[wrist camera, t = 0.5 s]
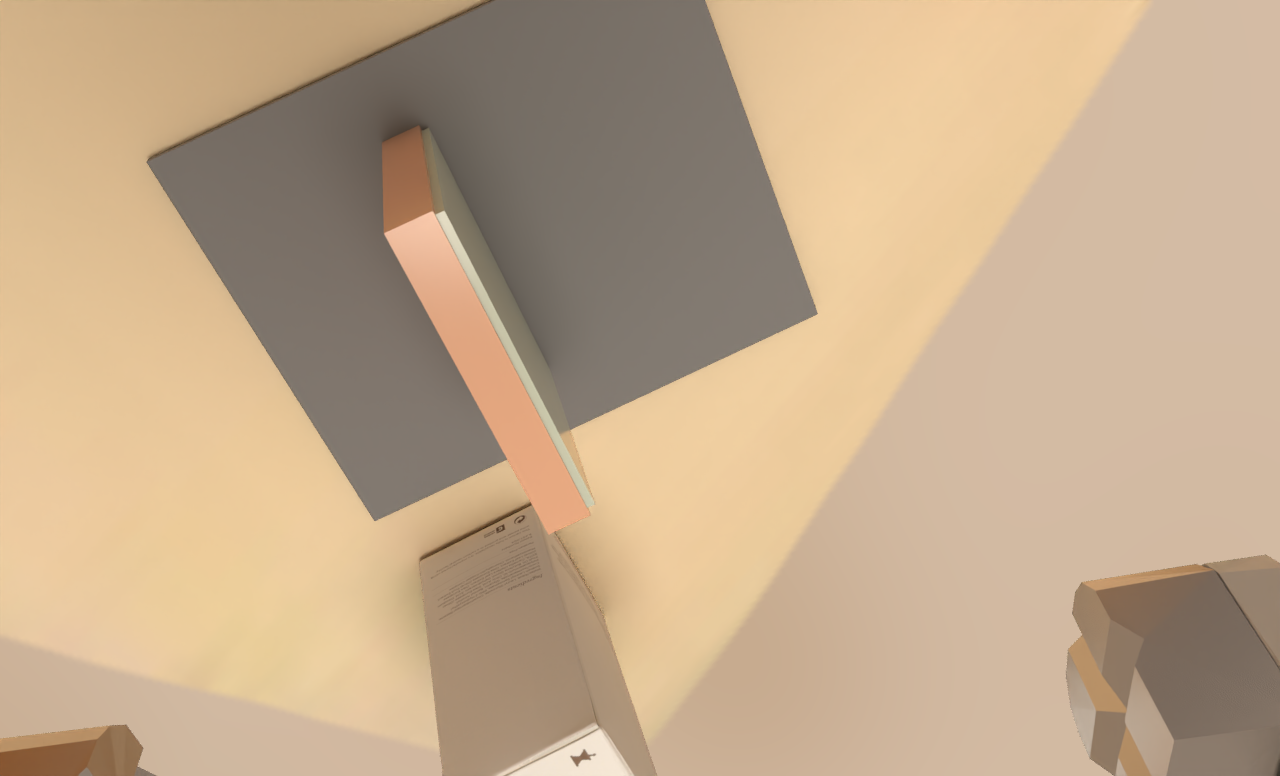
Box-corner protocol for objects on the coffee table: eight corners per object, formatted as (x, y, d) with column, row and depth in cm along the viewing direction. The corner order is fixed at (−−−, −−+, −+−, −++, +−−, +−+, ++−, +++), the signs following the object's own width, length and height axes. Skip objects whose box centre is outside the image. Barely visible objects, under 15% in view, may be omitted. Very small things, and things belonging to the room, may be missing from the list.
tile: (381, 142, 45) (383, 233, 34) (426, 121, 45) (441, 206, 34) (512, 390, 50) (548, 534, 40) (551, 371, 50) (598, 511, 40)
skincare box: (416, 556, 54) (430, 801, 40) (543, 493, 54) (602, 717, 40) (496, 679, 57) (535, 941, 44) (616, 620, 57) (692, 864, 44)
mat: (148, 159, 44) (146, 161, 43) (671, -84, 44) (674, -83, 44) (374, 515, 52) (374, 521, 52) (813, 310, 52) (817, 313, 52)
